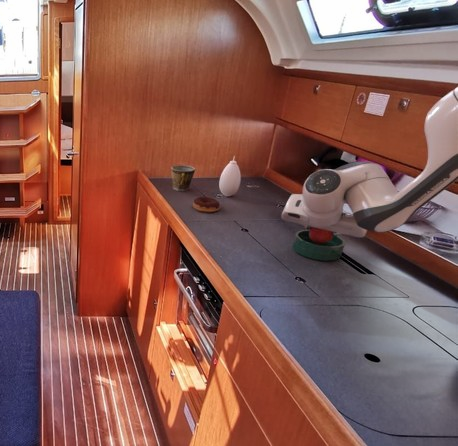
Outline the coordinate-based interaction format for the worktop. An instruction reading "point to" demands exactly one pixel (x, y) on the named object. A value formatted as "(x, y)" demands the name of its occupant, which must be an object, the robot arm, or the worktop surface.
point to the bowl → (318, 247)
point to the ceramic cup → (182, 177)
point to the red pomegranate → (320, 235)
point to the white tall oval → (230, 179)
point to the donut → (206, 204)
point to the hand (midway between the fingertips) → (322, 230)
